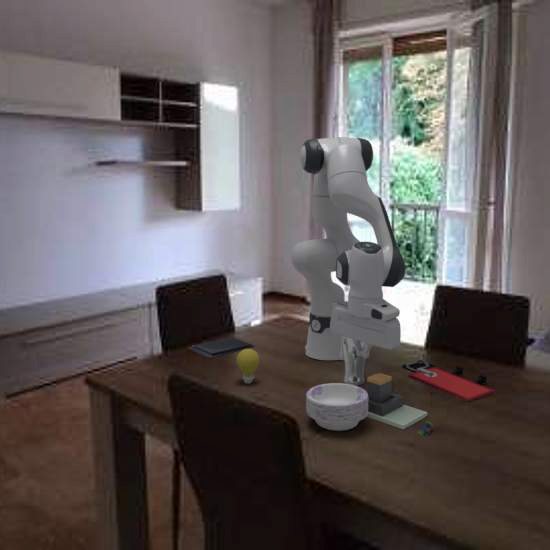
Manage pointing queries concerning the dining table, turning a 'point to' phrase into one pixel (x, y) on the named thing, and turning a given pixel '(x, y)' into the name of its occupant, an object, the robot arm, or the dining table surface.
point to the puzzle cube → (426, 428)
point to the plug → (379, 387)
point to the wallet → (220, 347)
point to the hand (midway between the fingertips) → (362, 356)
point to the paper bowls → (337, 405)
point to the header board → (395, 412)
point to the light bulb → (248, 363)
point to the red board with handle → (448, 380)
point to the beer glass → (353, 363)
